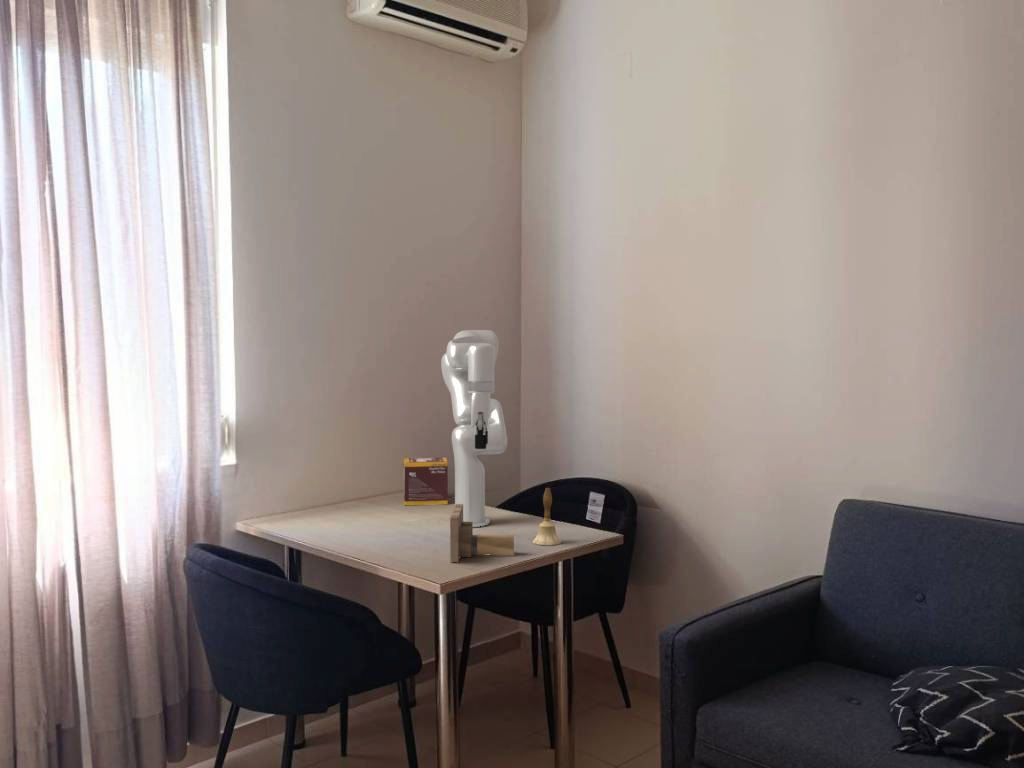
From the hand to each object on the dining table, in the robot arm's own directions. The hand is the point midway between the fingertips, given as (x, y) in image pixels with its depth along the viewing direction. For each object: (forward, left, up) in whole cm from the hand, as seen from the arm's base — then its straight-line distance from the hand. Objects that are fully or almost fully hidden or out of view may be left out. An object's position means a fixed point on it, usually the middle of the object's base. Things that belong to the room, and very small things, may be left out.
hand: (481, 446), depth 272 cm
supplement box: (-62, -23, -28) cm, 72 cm away
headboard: (+15, -4, -28) cm, 32 cm away
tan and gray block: (+15, +3, -28) cm, 32 cm away
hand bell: (+1, +19, -28) cm, 34 cm away
